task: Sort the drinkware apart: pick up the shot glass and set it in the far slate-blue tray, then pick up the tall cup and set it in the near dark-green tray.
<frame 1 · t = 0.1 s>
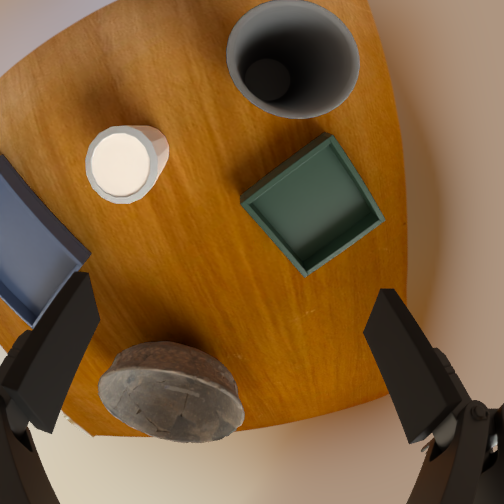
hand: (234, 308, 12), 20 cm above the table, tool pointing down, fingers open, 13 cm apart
bowl: (177, 360, 43), on the table
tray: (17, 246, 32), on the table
cup: (267, 79, 25), on the table
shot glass: (144, 151, 28), on the table
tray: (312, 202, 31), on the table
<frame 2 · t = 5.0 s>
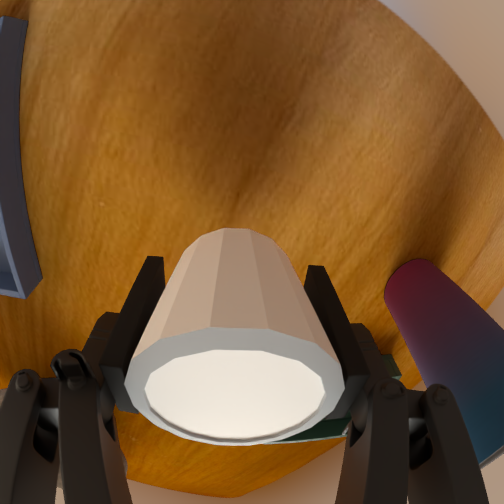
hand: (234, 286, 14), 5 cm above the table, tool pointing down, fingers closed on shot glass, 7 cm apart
cup: (409, 284, 21), on the table
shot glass: (234, 278, 14), point 4 cm above the table, touching gripper
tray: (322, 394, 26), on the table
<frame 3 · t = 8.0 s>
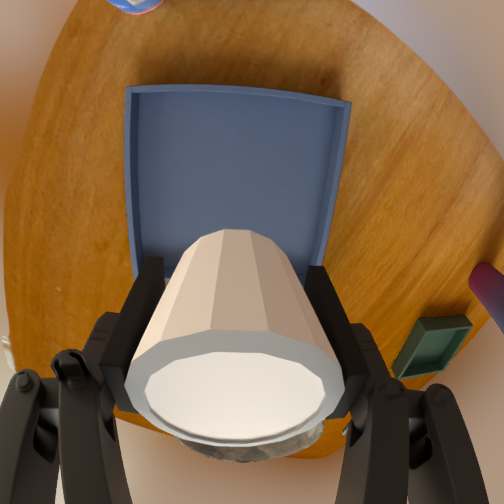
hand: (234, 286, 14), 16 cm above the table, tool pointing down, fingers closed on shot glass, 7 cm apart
bowl: (246, 382, 42), on the table
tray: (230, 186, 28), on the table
cup: (478, 275, 35), on the table
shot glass: (234, 279, 14), point 15 cm above the table, touching gripper
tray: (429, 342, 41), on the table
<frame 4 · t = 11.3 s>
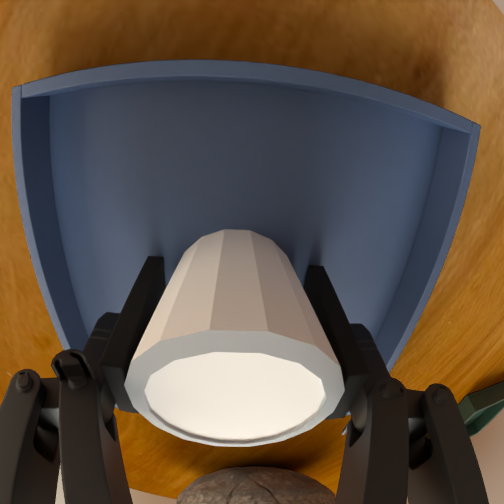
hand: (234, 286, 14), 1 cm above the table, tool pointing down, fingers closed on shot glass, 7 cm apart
bowl: (255, 470, 29), on the table
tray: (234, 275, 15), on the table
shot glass: (234, 279, 14), resting on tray, touching gripper
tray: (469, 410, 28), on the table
when the fingers open (1 cm above the table, at t = 11.5 s): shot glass stays where it is, resting on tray.
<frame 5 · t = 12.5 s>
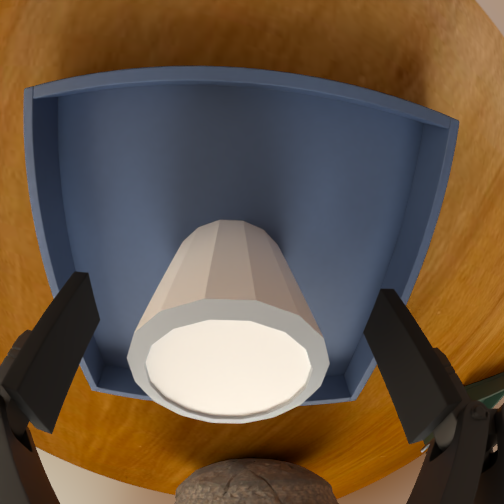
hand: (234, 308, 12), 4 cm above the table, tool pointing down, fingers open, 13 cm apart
bowl: (252, 463, 30), on the table
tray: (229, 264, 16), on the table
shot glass: (229, 268, 15), resting on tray
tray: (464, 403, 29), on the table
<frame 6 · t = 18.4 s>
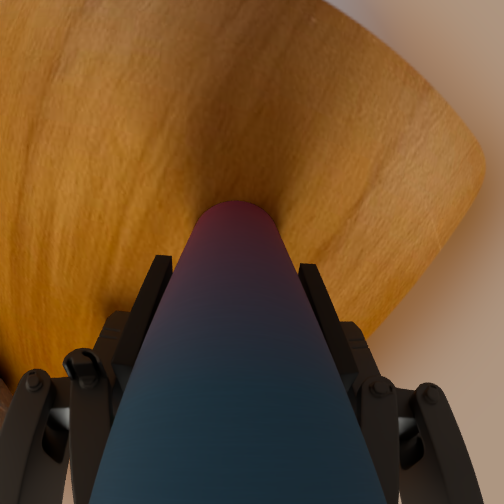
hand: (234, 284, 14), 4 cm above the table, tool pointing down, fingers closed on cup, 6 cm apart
cup: (235, 239, 17), on the table, touching gripper
when the fingers open (4 cm above the table, at t = 25.8 s): cup stays where it is, resting on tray.
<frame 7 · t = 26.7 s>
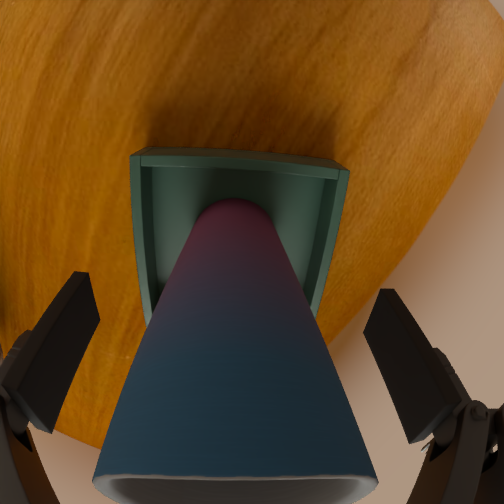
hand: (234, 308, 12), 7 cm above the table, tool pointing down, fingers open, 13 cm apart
cup: (233, 235, 18), resting on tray
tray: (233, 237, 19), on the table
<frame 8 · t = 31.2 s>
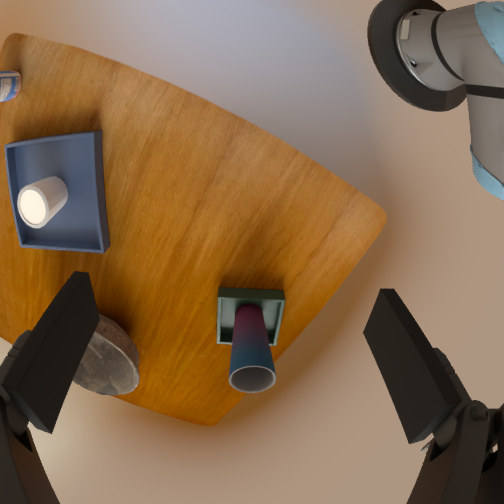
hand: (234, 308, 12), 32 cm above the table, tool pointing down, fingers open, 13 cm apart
bowl: (103, 329, 55), on the table
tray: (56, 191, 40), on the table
pill bottle: (13, 85, 30), on the table
cup: (248, 313, 53), resting on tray
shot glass: (55, 192, 40), resting on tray
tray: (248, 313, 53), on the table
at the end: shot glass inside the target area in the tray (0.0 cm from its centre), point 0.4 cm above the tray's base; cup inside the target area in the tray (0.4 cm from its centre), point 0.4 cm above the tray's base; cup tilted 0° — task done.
